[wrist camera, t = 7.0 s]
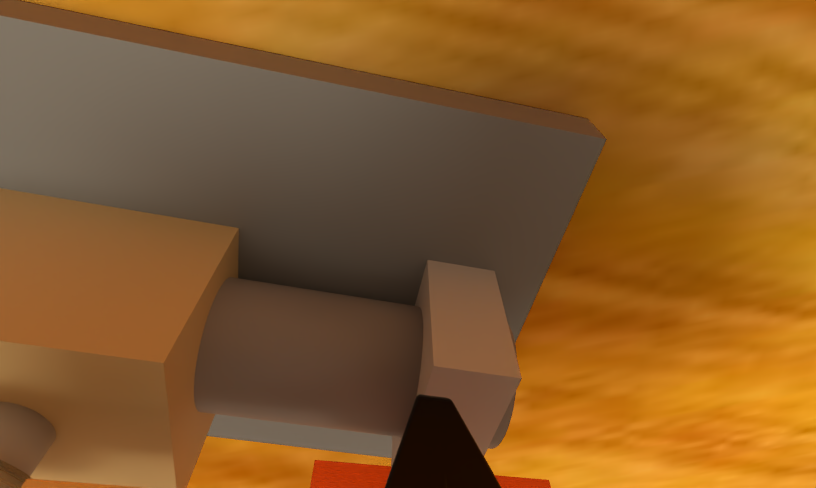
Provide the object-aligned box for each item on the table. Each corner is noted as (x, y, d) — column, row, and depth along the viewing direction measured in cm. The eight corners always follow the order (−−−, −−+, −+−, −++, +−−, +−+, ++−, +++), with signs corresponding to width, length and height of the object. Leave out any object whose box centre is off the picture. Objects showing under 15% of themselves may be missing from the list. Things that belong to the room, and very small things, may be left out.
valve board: (456, 433, 21) (478, 658, 14) (-170, 353, 18) (-483, 586, 12) (587, 118, 13) (756, 299, 7) (-454, -98, 11) (-1773, -134, 4)
